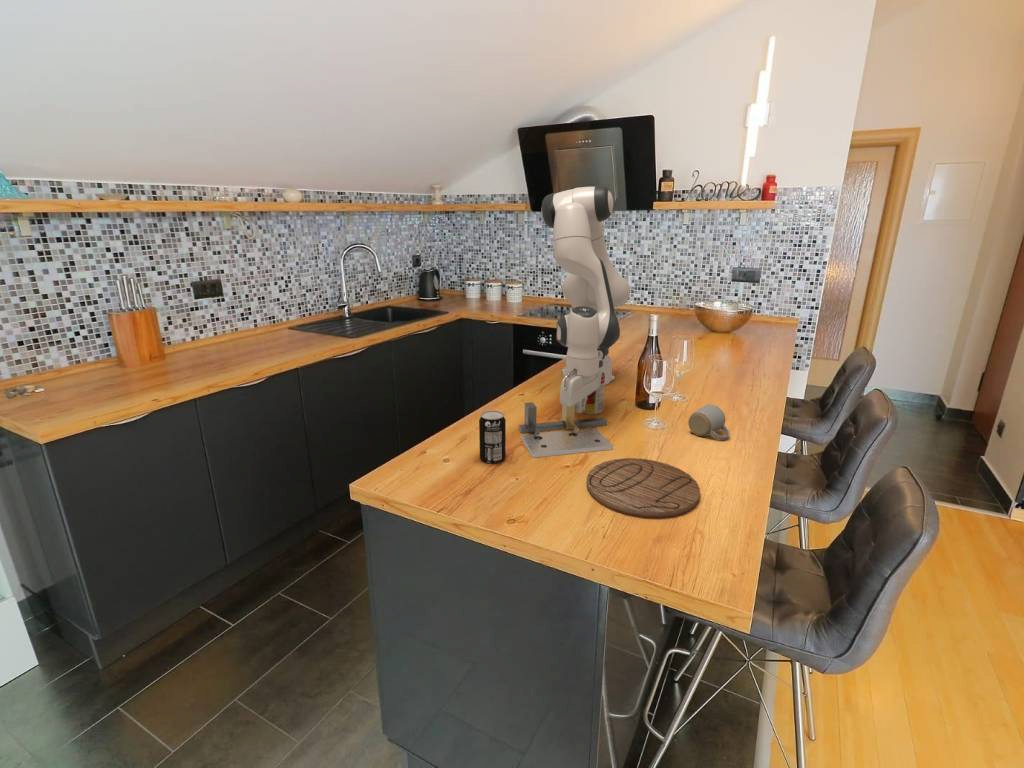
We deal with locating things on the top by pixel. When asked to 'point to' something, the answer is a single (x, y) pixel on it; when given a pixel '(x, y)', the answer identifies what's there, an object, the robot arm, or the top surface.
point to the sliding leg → (569, 417)
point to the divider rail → (548, 426)
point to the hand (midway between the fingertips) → (579, 411)
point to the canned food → (595, 399)
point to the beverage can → (492, 436)
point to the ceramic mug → (708, 422)
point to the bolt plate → (565, 442)
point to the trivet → (643, 488)
